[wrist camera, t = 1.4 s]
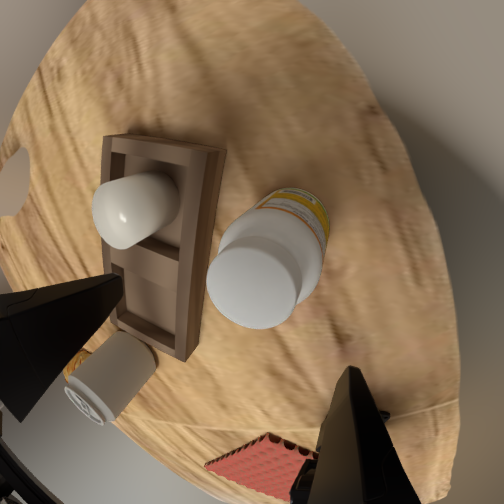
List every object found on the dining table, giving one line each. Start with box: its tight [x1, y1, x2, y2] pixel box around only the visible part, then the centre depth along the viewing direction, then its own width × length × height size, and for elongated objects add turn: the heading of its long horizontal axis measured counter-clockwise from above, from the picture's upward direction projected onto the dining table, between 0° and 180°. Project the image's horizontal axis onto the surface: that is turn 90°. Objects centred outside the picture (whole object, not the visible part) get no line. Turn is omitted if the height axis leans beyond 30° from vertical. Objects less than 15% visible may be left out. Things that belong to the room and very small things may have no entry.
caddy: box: [101, 134, 227, 362], centre depth 23 cm, size 10×20×3 cm, turn 169°
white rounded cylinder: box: [92, 170, 180, 249], centre depth 19 cm, size 5×5×5 cm
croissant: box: [63, 351, 91, 383], centre depth 40 cm, size 21×10×8 cm, turn 114°
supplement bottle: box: [206, 188, 329, 329], centre depth 16 cm, size 5×5×10 cm
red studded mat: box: [204, 432, 313, 501], centre depth 37 cm, size 28×28×2 cm
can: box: [65, 331, 156, 425], centre depth 28 cm, size 8×8×12 cm
